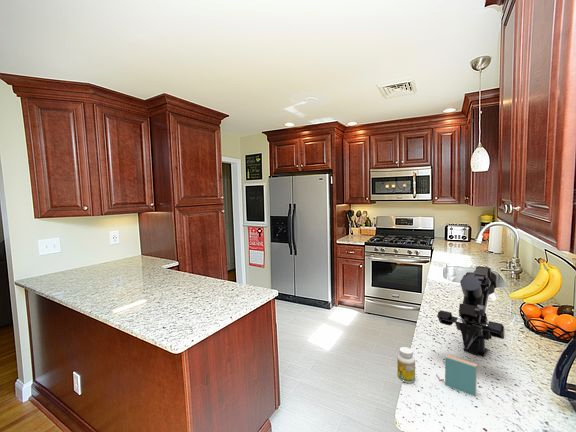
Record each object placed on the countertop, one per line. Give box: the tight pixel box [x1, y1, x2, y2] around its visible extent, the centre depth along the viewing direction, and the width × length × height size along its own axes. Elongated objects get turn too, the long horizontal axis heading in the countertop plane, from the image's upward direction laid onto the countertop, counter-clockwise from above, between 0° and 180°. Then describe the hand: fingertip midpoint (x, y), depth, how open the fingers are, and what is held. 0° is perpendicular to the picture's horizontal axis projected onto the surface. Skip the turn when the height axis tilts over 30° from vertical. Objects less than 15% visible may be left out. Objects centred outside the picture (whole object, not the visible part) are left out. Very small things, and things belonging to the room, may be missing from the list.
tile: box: [444, 354, 478, 397], centre depth 86 cm, size 2×8×9 cm, turn 48°
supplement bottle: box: [396, 346, 416, 384], centre depth 92 cm, size 5×5×10 cm
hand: (465, 348), depth 91 cm, fingers closed
